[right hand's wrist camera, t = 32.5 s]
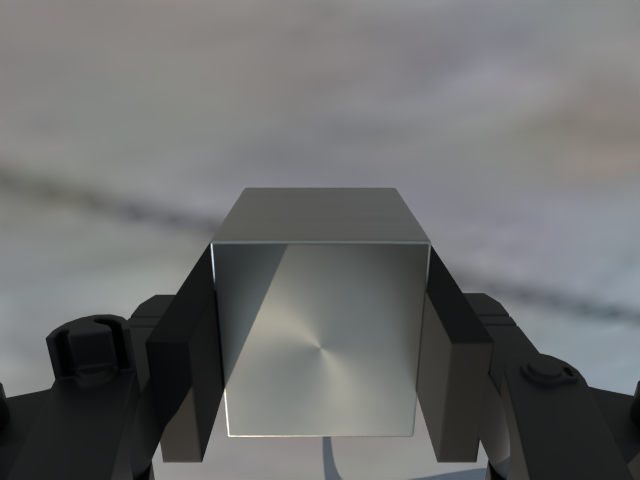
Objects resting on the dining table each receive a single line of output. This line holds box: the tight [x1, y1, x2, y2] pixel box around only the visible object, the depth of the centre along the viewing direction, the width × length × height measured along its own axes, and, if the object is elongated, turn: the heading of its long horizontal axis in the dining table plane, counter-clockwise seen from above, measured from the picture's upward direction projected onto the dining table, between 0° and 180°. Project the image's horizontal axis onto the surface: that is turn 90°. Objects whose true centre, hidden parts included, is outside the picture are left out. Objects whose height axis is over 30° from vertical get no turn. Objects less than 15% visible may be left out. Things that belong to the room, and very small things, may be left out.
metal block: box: [210, 188, 431, 437], centre depth 12 cm, size 5×5×5 cm
